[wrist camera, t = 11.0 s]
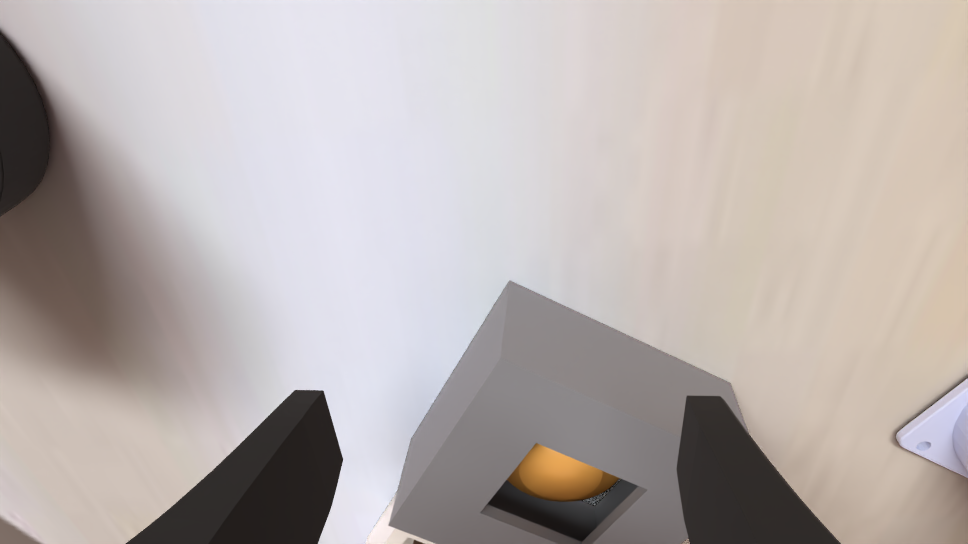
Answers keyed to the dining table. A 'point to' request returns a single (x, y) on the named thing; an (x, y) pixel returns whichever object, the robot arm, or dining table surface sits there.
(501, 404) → the box
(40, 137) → the pen holder
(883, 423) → the dining table surface
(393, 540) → the box
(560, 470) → the button
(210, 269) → the dining table surface
